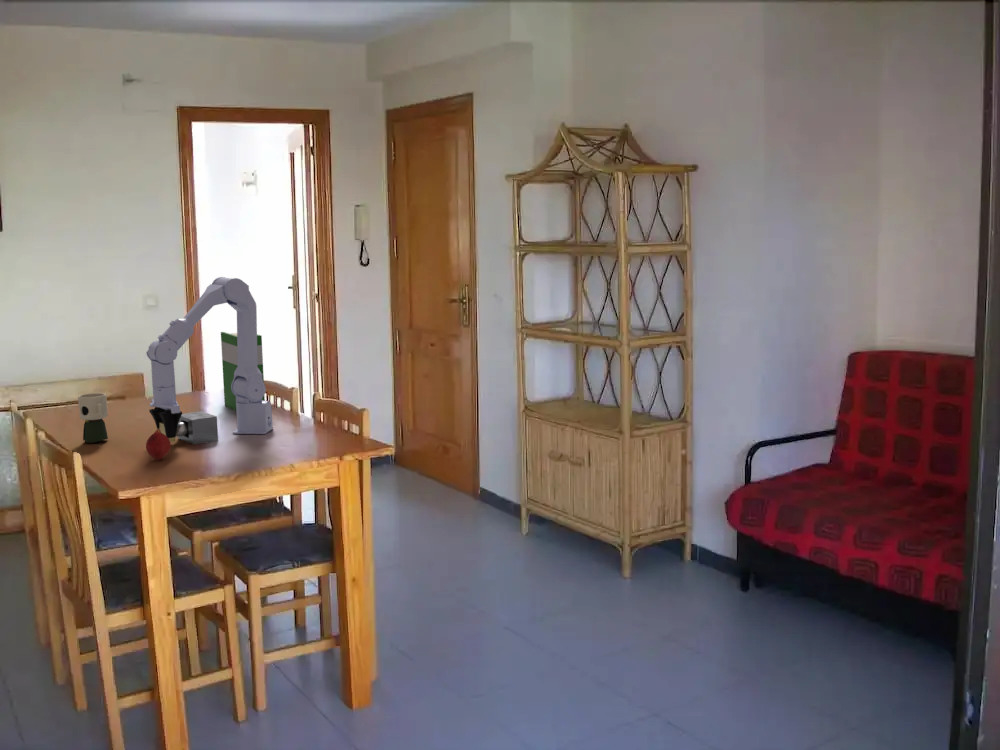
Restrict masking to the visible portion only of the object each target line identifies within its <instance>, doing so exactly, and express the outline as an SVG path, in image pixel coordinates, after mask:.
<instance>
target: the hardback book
mask: <svg viewBox="0 0 1000 750" xmlns="http://www.w3.org/2000/svg"><path fill="white" fill-rule="evenodd" d="M262 337H263V336H262V335H261V334H258V333H257V367H258V369H259V370H260V372H261V373H262V379H263V382H264V383H265V381H264V380H265V379H264V362H263V360H264V357H263V356H264V355H263V338H262ZM220 341H221V343H220V344H221V360H222V361H221V362H222V377H223V380H222V381H223V382H222V383H223V397H224V398H223V399H224V401H223V402H224V406H225V407H227V408H229V409H231V410H233V411H235V412H236V396H235V395H234V394H233V392H232V390H231V384H232V382H233V379H234V372H235V370H236V369H237V367H238V353H237V332H235V333H233V332H232V333H229V332H225V331H221V332H220ZM265 397H266V396H265V395H264V396H263V398H262V400H263V401H266V399H265Z"/></svg>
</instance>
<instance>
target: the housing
mask: <svg viewBox="0 0 1000 750" xmlns="http://www.w3.org/2000/svg"><path fill="white" fill-rule="evenodd" d="M180 422H188V431H189V435H188V436H182V437H177V438H178V440H180V439H181V440H180V441H183V440H184V441H183V442H185V441H187V442H186V443H188V442H190V443H192V444H191V445H193V444H196V445H200V444H199V443H202V444H207V443H206V442H208V443H214V441H215V442H219V432H218V416H217V415H213V414H210V413H207V412H206V411H200V410H199V411H193V412H186V413H182V415H181V417H180V419H179V422H178V423H180ZM190 443H189V444H190Z"/></svg>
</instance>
